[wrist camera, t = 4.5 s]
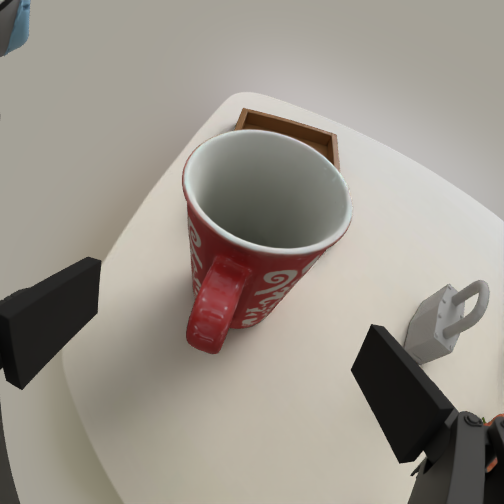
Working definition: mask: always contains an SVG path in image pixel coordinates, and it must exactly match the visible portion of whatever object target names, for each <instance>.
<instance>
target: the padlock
mask: <svg viewBox="0 0 504 504" xmlns="http://www.w3.org/2000/svg"><path fill="white" fill-rule="evenodd" d="M477 293H479V297H478V301H477V304H476V306H475V307H474V309H473V310H472V311H471V312H470V313H469V314H468V315H467V316H465V317H464V307H465V300H467V299H468V298H470V297H472V296H473V295H475V294H477ZM489 295H490V291H489V286H488V284H487V283H486V282H485V281H484V280H478V281H475V282H473V283H472V284H470V285H468V286H467V287H466V288H464V289H463V290H461V291H460V292H458V291H457V290H456V289H454V288H453V287H452V286H451V285H450V284H447V285H446V286H445V287H443V288H442V289H440V290H439V291H437V292H436V293H435V294H433V295H431V296H430V297H429V298H427V299H426V300H424V301H422V303H421V305H420V307H419V308H418V310H417V312H416V313H415V315H414V317H413V318H412V320H411V322H410V325H409V330H408V334H407V338H406V342H405V346H404V350H405V351H406V352H407V353H408V354H409V355H410V356H411V357H412V359H414V360H415V361H416V362H417V363H419V364H420V365H422V364H424V363H427V362H429V361H433V360H435V359H437V358H440V357H443V356H445V355H448V354H450V353H451V352H452V351H453V349H454V347H455V344H456V342H457V340H458V337H459V335H460V333H461V332H463V331H465V330H467V329H469V328H470V327H472V326H473V325H475V324H476V323H477V322H478V321H479V320H480V319H481V318H482V316H483V314H484V313H485V311H486V308H487V305H488V302H489Z"/></svg>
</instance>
